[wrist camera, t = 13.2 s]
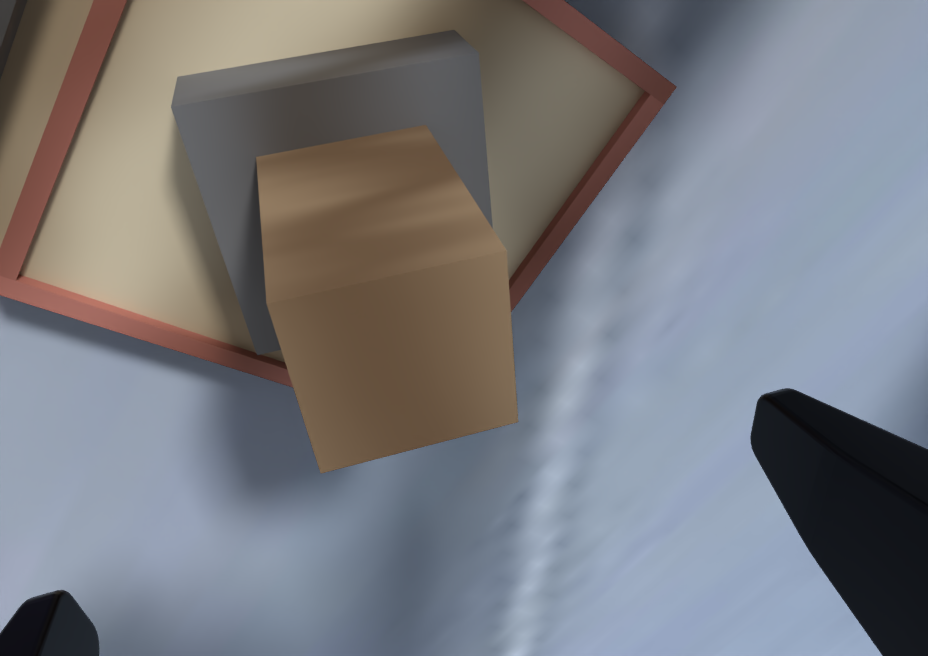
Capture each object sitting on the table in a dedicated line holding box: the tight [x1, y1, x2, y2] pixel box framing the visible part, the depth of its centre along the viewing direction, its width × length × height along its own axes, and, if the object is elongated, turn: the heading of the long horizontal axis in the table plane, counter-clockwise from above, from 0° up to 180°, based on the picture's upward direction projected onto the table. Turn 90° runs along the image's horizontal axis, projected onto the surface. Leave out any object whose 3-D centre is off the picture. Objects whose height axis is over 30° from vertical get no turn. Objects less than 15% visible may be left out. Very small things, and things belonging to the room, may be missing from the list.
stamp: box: [171, 30, 518, 473], centre depth 14 cm, size 6×6×8 cm
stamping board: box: [0, 0, 676, 387], centre depth 14 cm, size 24×12×2 cm, turn 57°
